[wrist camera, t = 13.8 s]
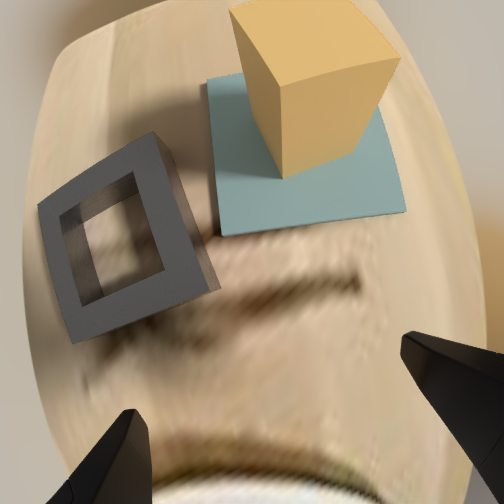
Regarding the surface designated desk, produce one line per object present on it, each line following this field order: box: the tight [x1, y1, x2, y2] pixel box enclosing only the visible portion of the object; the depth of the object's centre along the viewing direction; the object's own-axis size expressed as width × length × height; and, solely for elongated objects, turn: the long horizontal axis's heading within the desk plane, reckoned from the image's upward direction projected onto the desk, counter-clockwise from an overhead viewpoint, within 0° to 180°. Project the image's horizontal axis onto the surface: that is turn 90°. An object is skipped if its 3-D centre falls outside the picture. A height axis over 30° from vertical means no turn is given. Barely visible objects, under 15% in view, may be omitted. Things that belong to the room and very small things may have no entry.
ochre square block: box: [229, 0, 401, 179], centre depth 14 cm, size 5×5×10 cm
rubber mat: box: [207, 73, 407, 237], centre depth 19 cm, size 12×12×1 cm
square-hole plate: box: [37, 131, 221, 344], centre depth 18 cm, size 10×10×3 cm
